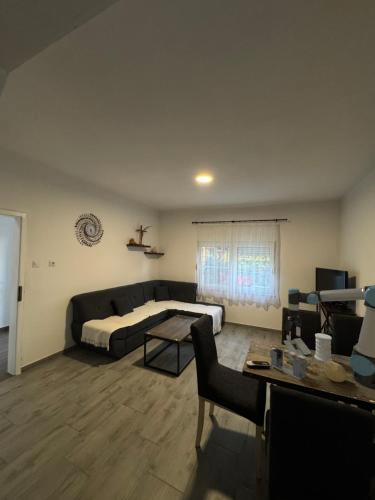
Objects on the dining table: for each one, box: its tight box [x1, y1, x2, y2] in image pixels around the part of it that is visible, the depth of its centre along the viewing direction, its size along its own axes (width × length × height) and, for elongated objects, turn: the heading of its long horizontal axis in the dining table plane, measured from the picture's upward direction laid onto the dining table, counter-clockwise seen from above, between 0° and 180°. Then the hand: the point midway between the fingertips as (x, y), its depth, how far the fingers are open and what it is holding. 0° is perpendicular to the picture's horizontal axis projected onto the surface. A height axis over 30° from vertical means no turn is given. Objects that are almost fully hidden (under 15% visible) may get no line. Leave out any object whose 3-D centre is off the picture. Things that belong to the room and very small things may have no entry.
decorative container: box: [314, 332, 333, 363], centre depth 163 cm, size 12×12×18 cm
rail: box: [283, 349, 311, 368], centre depth 154 cm, size 17×4×4 cm, turn 35°
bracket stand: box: [269, 347, 308, 381], centre depth 146 cm, size 22×9×11 cm, turn 35°
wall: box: [283, 337, 312, 356], centre depth 175 cm, size 16×9×15 cm
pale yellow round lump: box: [322, 360, 347, 383], centre depth 137 cm, size 12×12×11 cm
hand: (293, 337), depth 157 cm, fingers open, 13 cm apart
